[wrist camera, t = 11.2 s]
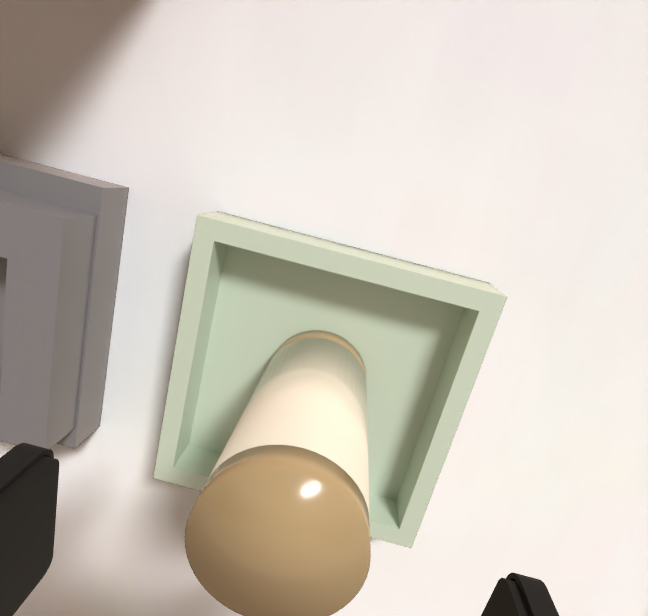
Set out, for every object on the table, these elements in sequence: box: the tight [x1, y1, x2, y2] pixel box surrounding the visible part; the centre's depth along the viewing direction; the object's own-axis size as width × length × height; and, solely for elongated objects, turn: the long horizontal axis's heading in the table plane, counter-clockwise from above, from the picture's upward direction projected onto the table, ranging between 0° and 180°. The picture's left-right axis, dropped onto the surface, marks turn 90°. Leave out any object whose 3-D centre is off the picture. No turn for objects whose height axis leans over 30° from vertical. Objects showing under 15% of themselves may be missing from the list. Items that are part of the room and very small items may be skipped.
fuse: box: [185, 330, 371, 616], centre depth 15 cm, size 4×4×10 cm
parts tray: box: [153, 211, 507, 548], centre depth 19 cm, size 12×12×2 cm
